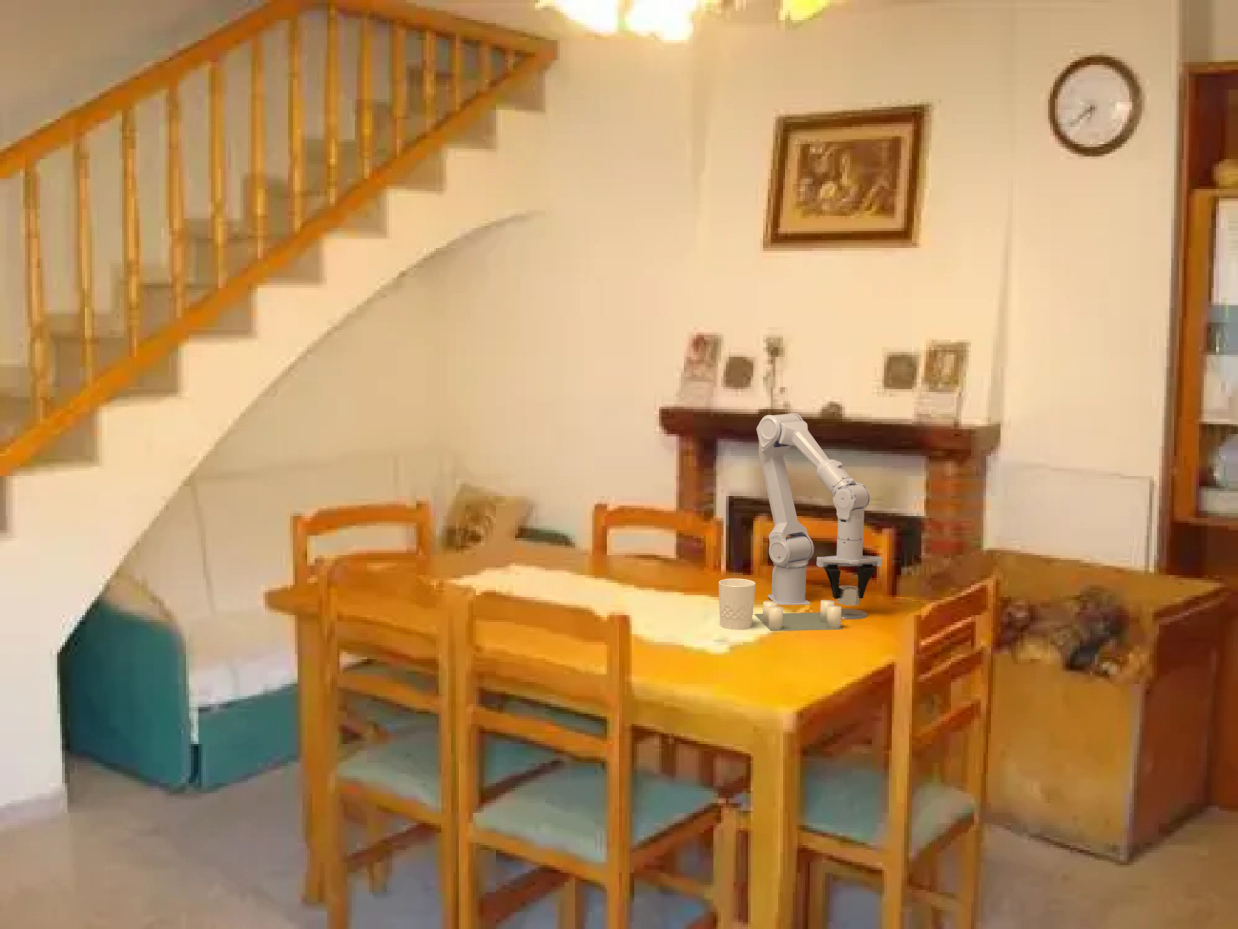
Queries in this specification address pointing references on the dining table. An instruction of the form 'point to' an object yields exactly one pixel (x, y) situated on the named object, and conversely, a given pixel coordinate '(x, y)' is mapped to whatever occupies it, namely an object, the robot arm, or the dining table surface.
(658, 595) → the dining table surface
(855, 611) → the grey round coaster
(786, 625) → the mat
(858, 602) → the faceted crystal gem
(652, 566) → the dining table surface
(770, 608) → the beige capsules
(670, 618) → the dining table surface
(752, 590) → the white cup
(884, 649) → the dining table surface
